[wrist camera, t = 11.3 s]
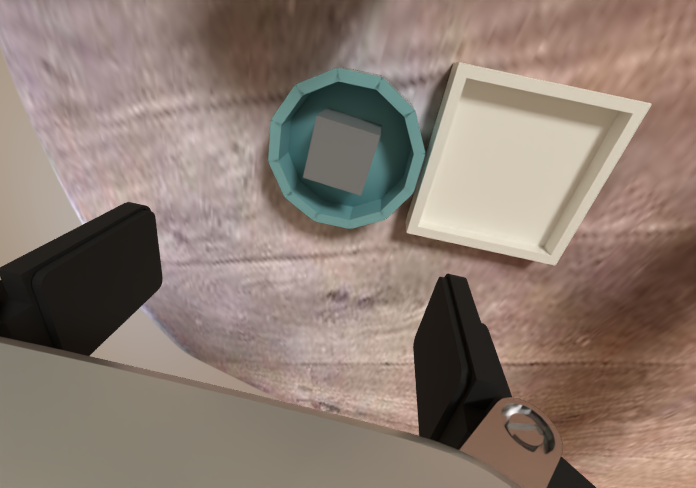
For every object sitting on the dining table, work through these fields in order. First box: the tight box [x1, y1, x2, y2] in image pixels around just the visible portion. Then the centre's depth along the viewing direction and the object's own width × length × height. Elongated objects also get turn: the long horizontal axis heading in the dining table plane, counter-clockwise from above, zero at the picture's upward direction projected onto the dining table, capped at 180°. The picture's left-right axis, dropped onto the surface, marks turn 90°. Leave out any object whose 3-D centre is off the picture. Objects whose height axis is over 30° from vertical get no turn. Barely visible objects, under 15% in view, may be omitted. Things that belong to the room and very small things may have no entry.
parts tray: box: [405, 62, 652, 265], centre depth 26 cm, size 13×13×2 cm
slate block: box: [303, 108, 382, 196], centre depth 25 cm, size 4×4×4 cm
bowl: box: [268, 67, 425, 229], centre depth 26 cm, size 12×12×4 cm
